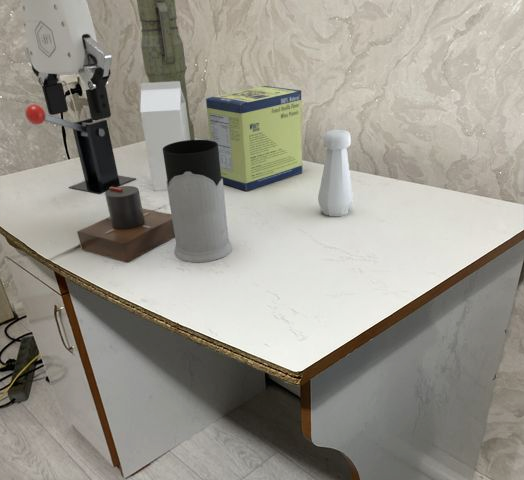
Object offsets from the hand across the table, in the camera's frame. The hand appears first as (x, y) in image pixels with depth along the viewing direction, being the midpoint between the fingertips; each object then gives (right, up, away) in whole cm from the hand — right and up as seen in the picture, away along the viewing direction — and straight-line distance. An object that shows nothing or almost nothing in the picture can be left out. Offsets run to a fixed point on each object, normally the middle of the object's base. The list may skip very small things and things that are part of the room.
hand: (79, 115), depth 80 cm
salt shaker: (+40, -12, +11) cm, 43 cm away
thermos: (+7, +11, +46) cm, 48 cm away
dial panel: (+7, -18, +5) cm, 19 cm away
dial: (+6, -15, +4) cm, 17 cm away
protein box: (+26, 0, +29) cm, 39 cm away
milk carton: (+10, -3, +26) cm, 28 cm away
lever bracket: (-5, -2, +29) cm, 29 cm away
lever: (-9, +5, +18) cm, 20 cm away
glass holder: (+18, -18, +3) cm, 26 cm away
